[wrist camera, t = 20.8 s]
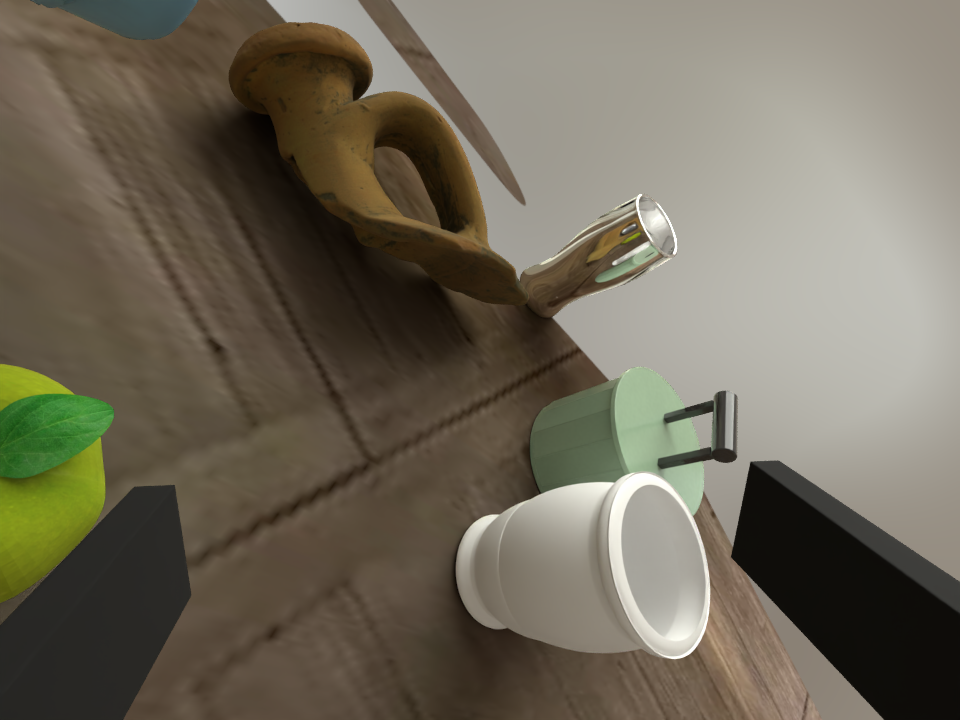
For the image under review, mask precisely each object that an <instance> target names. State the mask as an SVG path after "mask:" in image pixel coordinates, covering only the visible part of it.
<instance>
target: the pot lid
mask: <svg viewBox="0 0 960 720" xmlns="http://www.w3.org/2000/svg"><path fill="white" fill-rule="evenodd" d="M737 409H738V398H737V396H736V395H735V394H734V393H733V392H730V391H720V392H718V393H716V394H715V396H714V401H712V400H711V401H708V402H704V403H701V404H697V405H694V406H690V407H687V408H685V406H684V405H683V403H682V402H681V399H680V398H679V396H678V395H677V393H676V392H675V391H674V389H673V388H672V387H671V386H670V385H669V383H668V382H667V381H666V380H665V379H664V378H662V377H661V376H660V375H659V374H657V373H656V372H654V371H652V370H650V369H648V368H644V367H634V368H631V369H629V370H627V371H625V372H624V373H622V374H621V375H620V377H619V378H618V379H617V381H616V383H615V385H614V388H613V392H612V397H611V405H610V420H611V429H612V435H613V440H614V445H615V448H616V452H617V455H618V458H619V461H620V464H621V466H622V469H623V471H624V473H625V475H627V474H630V473H636V472H641V471H647V472H652V473H655V474H657V475H659V476H661V477H662V478H664V479H665V480H666V481H667V482H669V483H670V484H671V485H672V486H673V487H674V488H675V490H676V491H677V492H678V493H679V495H680V496H681V497H682V499H683V500H684V502H685V503H686V505H687V507H688V508H689V510H690V512H691V514H692V516H693V515H694V514H695V513H696V512H697V510H698V508H699V506H700V503H701V500H702V495H703V488H704V467H703V461H706V460H711V459H715V460H716V461H719V462H723V463H728V462H733V461H735V460H736V458H737V417H738V415H737V413H738V410H737ZM709 412H713V422H712V441H711V447H708V448H704V449H700V445H699V441H698V438H697V435H696V431H695V429H694V426H693V424H692V421H691V419H690V418H691V417H694V416H698V415H702V414H706V413H709Z"/></svg>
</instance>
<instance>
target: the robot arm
mask: <svg viewBox="0 0 960 720" xmlns="http://www.w3.org/2000/svg"><path fill="white" fill-rule="evenodd" d="M31 1H33V2H34V3H36V4H38V5H40V4H42V5H44V6H46V7H48V8H55V7H58V8H61V9H63V10H65V11H67V12H70V13H72V14H74V15H76V16H78V17H81V18H83V19H85V20H87V21H90V22H92V23H94V24H96V25H99V26H101V27H103V28H105V29H108V30H110V31H112V32H114V33H116V34H119V35H121V36H123V37H126V38H132V39H137V40H145V39H153V40H154V39H159V38H162V37H164V36H167V35H169V34H170V33H172V32H173V31H174V30H175V29H176V28H177V27H178V26H179V25H180V24H181V23H182V22H183V21H184V20H185V19H186V17H187V16H188V15H189V13H190V12H191V11H192V9H193V8H194V6H195V5H196V3H197V2H198V0H31ZM731 558H732V559H733V560H734V561H735V562H736V563H737V564H738V565H739V566H740V567H741V568H742V569H743V570H744V571H745V572H746V573H747V575H748V576H749V577H750V578H751V579H752V580H753V581H754V582H755V583H756V584H757V585H758V586H759V587H760V588H761V589H762V590H763V591H764V592H765V594H766V595H767V596H768V597H769V598H770V599H771V600H772V601H773V602H774V603H775V604H776V605H777V606H778V607H779V608H780V610H781V611H782V612H783V613H784V614H785V615H786V616H787V617H788V618H789V619H790V620H791V621H792V622H793V623H794V624H795V625H796V627H797V628H798V629H799V630H800V631H801V632H802V633H803V634H804V635H805V636H806V637H807V638H808V639H809V640H810V641H811V642H812V643H813V645H814V646H815V647H816V648H817V649H818V650H819V651H820V652H821V653H822V654H823V655H824V656H825V657H826V658H827V659H828V661H830V663H831V664H832V665H833V666H834V667H835V668H836V669H837V670H838V671H839V672H840V673H841V674H842V675H843V676H844V678H846V680H847V681H848V682H849V683H850V684H851V685H852V686H853V687H854V688H855V689H856V690H857V691H858V692H859V693H860V695H861V696H862V697H863V698H864V699H865V700H866V701H867V702H868V703H869V704H870V705H871V706H872V707H873V708H874V709H875V710H876V712H878V714H879V715H880V716H881V717H882V718H883V719H884V720H960V581H958V580H956V579H955V578H953V577H952V576H950V575H949V574H947V573H946V572H944V571H943V570H941V569H940V568H938V567H937V566H935V565H934V564H932V563H931V562H929V561H928V560H926V559H925V558H923V557H922V556H920V555H919V554H917V553H916V552H914V551H913V550H911V549H910V548H908V547H907V546H906V545H904V544H903V543H901V542H899V541H898V540H897V539H895V538H894V537H892V536H890V535H889V534H888V533H886V532H885V531H883V530H882V529H880V528H879V527H877V526H876V525H874V524H873V523H871V522H870V521H868V520H867V519H865V518H864V517H862V516H861V515H859V514H858V513H856V512H854V511H853V510H852V509H850V508H849V507H847V506H846V505H844V504H843V503H841V502H840V501H838V500H837V499H835V498H834V497H832V496H831V495H829V494H828V493H826V492H825V491H823V490H822V489H820V488H819V487H817V486H816V485H814V484H813V483H811V482H810V481H808V480H807V479H806V478H804V477H803V476H801V475H799V474H798V473H797V472H795V471H794V470H792V469H790V468H789V467H787V466H786V465H785V464H783V463H782V462H780V461H757V462H756V461H755V462H751V463H750V467H749V472H748V477H747V483H746V487H745V492H744V496H743V501H742V506H741V511H740V516H739V521H738V526H737V531H736V536H735V541H734V546H733V550H732V555H731ZM190 597H191V590H190V583H189V577H188V570H187V564H186V557H185V550H184V544H183V537H182V530H181V524H180V517H179V511H178V504H177V497H176V491H175V485H166V486H141V487H134V488H133V489H132V490H131V491H130V492H129V493H128V494H127V495H126V496H125V497H124V498H123V499H122V500H121V501H120V502H119V503H118V504H117V505H116V506H115V507H114V508H113V509H112V510H111V511H110V512H109V514H108V515H107V516H106V517H105V518H104V519H103V520H102V521H101V522H100V523H99V524H98V525H97V526H96V527H95V528H94V529H93V530H92V531H91V532H90V533H89V534H88V535H87V536H86V537H85V538H84V539H83V540H82V541H81V542H80V543H79V544H78V546H77V547H76V548H75V549H74V550H73V551H72V552H71V553H70V554H69V555H68V556H67V557H66V558H65V559H64V560H63V561H62V562H61V563H60V564H59V565H58V566H57V567H56V568H55V569H54V570H53V571H52V572H51V573H50V574H49V575H48V577H47V578H46V579H45V580H44V581H43V582H42V583H41V584H40V585H39V586H38V587H37V588H36V589H35V590H34V591H33V592H32V593H31V594H30V595H29V596H28V597H27V598H26V599H25V600H24V601H23V602H22V603H21V604H20V605H19V606H18V607H17V609H16V610H15V611H14V612H13V613H12V614H11V615H10V616H9V617H8V618H7V619H6V620H5V621H4V622H3V623H2V624H1V625H0V720H123V719H124V717H125V715H126V713H127V711H128V710H129V708H130V706H131V704H132V702H133V701H134V699H135V697H136V695H137V693H138V691H139V690H140V688H141V686H142V684H143V682H144V681H145V679H146V677H147V675H148V673H149V671H150V670H151V668H152V666H153V664H154V662H155V660H156V659H157V657H158V655H159V653H160V651H161V650H162V648H163V646H164V644H165V642H166V640H167V639H168V637H169V635H170V633H171V631H172V630H173V628H174V626H175V624H176V622H177V620H178V619H179V617H180V615H181V613H182V611H183V610H184V608H185V606H186V604H187V602H188V600H189V599H190Z"/></svg>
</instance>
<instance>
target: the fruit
mask: <svg viewBox="0 0 960 720" xmlns="http://www.w3.org/2000/svg"><path fill="white" fill-rule="evenodd" d="M113 418H114V409H113V408H112V407H111V406H110V405H109V404H107V403H105V402H103V401H101V400H98V399H94V398H90V397H86V396H79V395H75V394H74V393H72V392H71V391H70V390H68V389H67V388H65V387H64V386H62V385H61V384H59V383H57V382H56V381H54V380H52V379H50V378H48V377H46V376H44V375H41V374H39V373H37V372H34V371H31V370H28V369H25V368H21V367H17V366H11V365H5V364H0V603H1V602H4V601H6V600H8V599H10V598H12V597H15V596H16V595H18V594H19V593H21V592H23V591H24V590H26V589H27V588H29V587H31V586H32V585H33V584H35V583H36V582H37V581H38V580H40V579H41V578H42V577H44V576H45V575H46V574H47V573H48V572H49V571H51V570H52V569H53V568H54V567H55V566H56V565H57V564H59V563H60V562H61V561H62V560H63V559H64V558H65V557H66V556H67V555H68V554H69V553H70V552H71V551H72V550H73V549H74V548H75V547H76V546H77V545H78V544H79V543H80V542H81V540H82V539H83V538H84V537H85V536H86V535H87V534H88V532H89V531H90V530H91V528H92V527H93V526H94V524H95V523H96V521H97V520H98V518H99V515H100V513H101V511H102V509H103V505H104V500H105V475H104V467H103V457H102V445H101V438H100V437H101V436H102V435H103V433H104V432H105V431H106V430H107V429H108V427H109V426H110V424H111V422H112V420H113Z"/></svg>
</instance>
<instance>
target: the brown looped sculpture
mask: <svg viewBox="0 0 960 720" xmlns="http://www.w3.org/2000/svg"><path fill="white" fill-rule="evenodd" d="M372 77H373V69H372V64H371V62H370V59H369V57H368V56H367V54H366V52H365V51H364V49H363V48H362V47H361V46H360V45H359V44H358V42H357V41H355V40H354V39H353V38H352V37H351V36H350V35H349V34H347V33H346V32H344V31H342V30H340V29H338V28H335V27H332V26H329V25H324V24H318V23H312V22H309V23H296V22H288V23H283V24H279V25H276V26H273V27H270V28H267V29H264V30H261V31H259V32H257V33H256V34H254V35H253V36H251V37H250V38H249V39H247V40H246V41H245V42H244V43H243V45H242V47H241V48H240V49H239V50H238V52H237V54H236V56H235V58H234V61H233V63H232V65H231V67H230V70H229V83H230V87H231V90H232V92H233V94H234V96H235V97H236V98H237V99H238V100H239V101H240V102H241V103H242V104H243V105H244V106H245V107H247V108H248V109H250V110H252V111H254V112H256V113H260V114H266V115H270V117H271V119H272V122H273V125H274V128H275V132H276V136H277V142H278V148H279V152H280V155H281V157H282V158H283V159H284V160H285V161H287V162H288V164H289V165H291V166H292V168H293V170H294V172H295V174H296V175H297V176H298V178H299V179H301V180H302V181H303V182H304V183H305V184H306V185H307V186H308V187H309V189H310V191H311V192H312V193H313V195H314V196H315V197H316V198H317V199H318V200H319V201H320V202H321V204H322V205H323V206H324V208H325V209H326V210H327V211H328V212H330V213H331V214H333V215H335V216H337V217H339V218H341V219H342V220H344V221H346V222H348V223H350V224H351V225H352V227H353V229H354V233H355V235H356V237H357V239H358V241H359V242H360V243H361V244H363V245H365V246H367V247H375V248H379V249H381V250H382V251H384V252H386V253H389V254H391V255H393V256H395V257H397V258H399V259H401V260H405V261H410V262H415V263H416V264H418V265H420V266H421V268H423V269H424V270H425V271H426V272H427V274H428V275H429V276H430V277H431V279H432V280H433V281H435V282H436V283H438V284H440V285H443V286H445V287H446V288H448V289H451V290H453V291H456V292H460V293H463V294H465V295H467V296H470V297H472V298H474V299H477V300H480V301H482V302H486V303H491V304H508V305H515V306H519V305H524V304H526V303H527V301H528V299H529V294H528V292H527V291H526V290H525V288H524V287H523V285H522V284H521V283H520V282H519V280H518V278H517V276H516V270H515V268H514V267H513V266H512V265H511V264H510V263H509V262H507V261H506V260H505V259H503V258H502V257H501V256H500V255H498V254H497V253H495V252H494V251H492V250H491V248H490V247H489V244H488V240H487V224H486V218H485V213H484V209H483V205H482V201H481V197H480V194H479V191H478V187H477V184H476V181H475V178H474V175H473V172H472V170H471V167H470V164H469V162H468V159H467V157H466V155H465V152H464V150H463V148H462V146H461V144H460V142H459V140H458V139H457V137H456V135H455V133H454V132H453V130H452V128H451V127H450V125H449V124H448V123H447V121H446V120H445V119H444V118H443V116H441V114H440V113H439V112H438V111H437V110H436V109H435V108H433V107H432V106H431V105H430V104H428V103H427V102H425V101H424V100H422V99H420V98H418V97H416V96H414V95H411V94H408V93H403V92H397V91H392V92H383V93H378V94H374V95H370V96H367V97H365V98H362V99H359V98H360V97H361V96H362V95H363V94H364V93H365V92H366V91H367V89H368V87H369V86H370V83H371V81H372ZM358 99H359V100H358ZM383 146H387V147H391V148H396V149H398V150H400V151H402V152H403V153H404V154H406V155H407V156H408V157H409V158H410V160H411V161H412V162H413V164H414V165H415V167H416V169H417V171H418V172H419V174H420V176H421V178H422V181H423V183H424V185H425V187H426V190H427V192H428V194H429V197H430V199H431V201H432V203H433V205H434V206H435V209H436V212H437V215H438V217H439V220H440V224H441V229H440V228H438V227H435V226H431V225H428V224H425V223H422V222H419V221H416V220H413V219H409V218H405V217H403V216H402V214H401V213H400V212H399V211H398V209H397V208H396V207H395V206H394V204H393V203H392V202H391V201H390V199H389V198H388V197H387V196H386V194H385V193H384V191H383V190H382V188H381V186H380V185H379V183H378V181H377V179H376V177H375V175H374V149H375V148H377V147H383Z"/></svg>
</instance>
